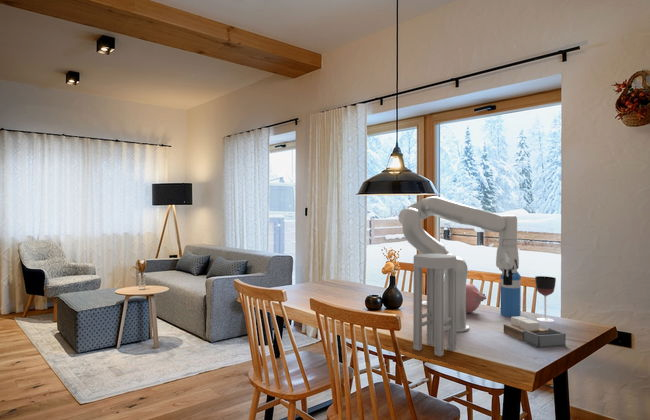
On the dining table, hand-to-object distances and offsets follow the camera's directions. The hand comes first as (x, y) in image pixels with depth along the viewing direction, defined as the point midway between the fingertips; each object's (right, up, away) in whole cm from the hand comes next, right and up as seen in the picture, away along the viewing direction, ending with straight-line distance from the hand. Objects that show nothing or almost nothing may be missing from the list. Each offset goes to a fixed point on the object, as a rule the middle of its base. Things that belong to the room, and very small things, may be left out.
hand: (507, 284), depth 191 cm
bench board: (+3, -19, -11) cm, 22 cm away
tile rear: (+2, -16, -8) cm, 18 cm away
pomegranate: (-8, -19, +27) cm, 34 cm away
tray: (+5, -19, -22) cm, 29 cm away
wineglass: (+24, -19, +15) cm, 34 cm away
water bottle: (+12, -19, +24) cm, 33 cm away
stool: (-39, -19, -29) cm, 53 cm away
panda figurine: (-22, -19, +49) cm, 57 cm away
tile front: (+3, -16, -14) cm, 21 cm away
